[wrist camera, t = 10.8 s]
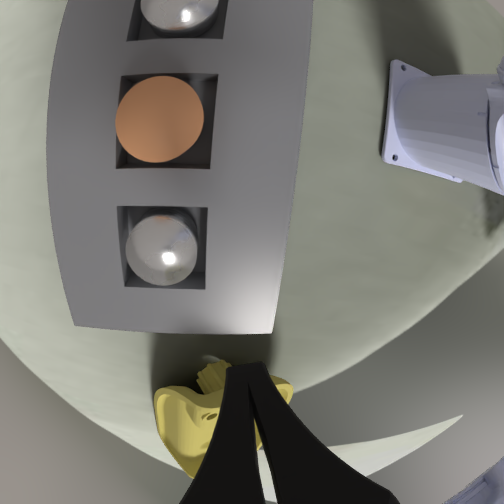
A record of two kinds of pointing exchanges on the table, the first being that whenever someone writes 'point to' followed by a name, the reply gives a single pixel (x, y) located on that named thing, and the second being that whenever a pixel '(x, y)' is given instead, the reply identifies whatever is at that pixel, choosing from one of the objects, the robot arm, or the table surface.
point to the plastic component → (197, 415)
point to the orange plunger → (159, 119)
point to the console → (178, 163)
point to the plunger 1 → (180, 17)
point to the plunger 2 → (163, 246)
